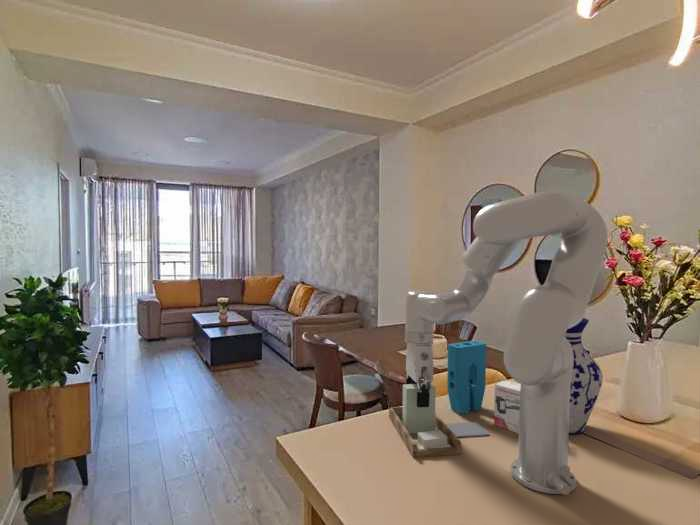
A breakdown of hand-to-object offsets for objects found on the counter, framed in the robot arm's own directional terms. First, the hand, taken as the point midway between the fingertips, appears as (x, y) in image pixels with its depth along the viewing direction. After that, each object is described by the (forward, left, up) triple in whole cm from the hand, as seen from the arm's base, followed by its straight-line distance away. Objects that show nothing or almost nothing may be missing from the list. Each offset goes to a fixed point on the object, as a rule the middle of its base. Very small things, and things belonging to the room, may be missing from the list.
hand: (417, 399), depth 111 cm
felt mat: (-3, -12, -8) cm, 15 cm away
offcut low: (-11, 0, -9) cm, 14 cm away
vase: (-4, -40, -8) cm, 41 cm away
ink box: (-3, -26, -8) cm, 28 cm away
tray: (-3, 0, -8) cm, 9 cm away
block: (+12, -19, -8) cm, 24 cm away
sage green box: (-1, 0, -8) cm, 8 cm away
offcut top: (-11, 0, -7) cm, 13 cm away
